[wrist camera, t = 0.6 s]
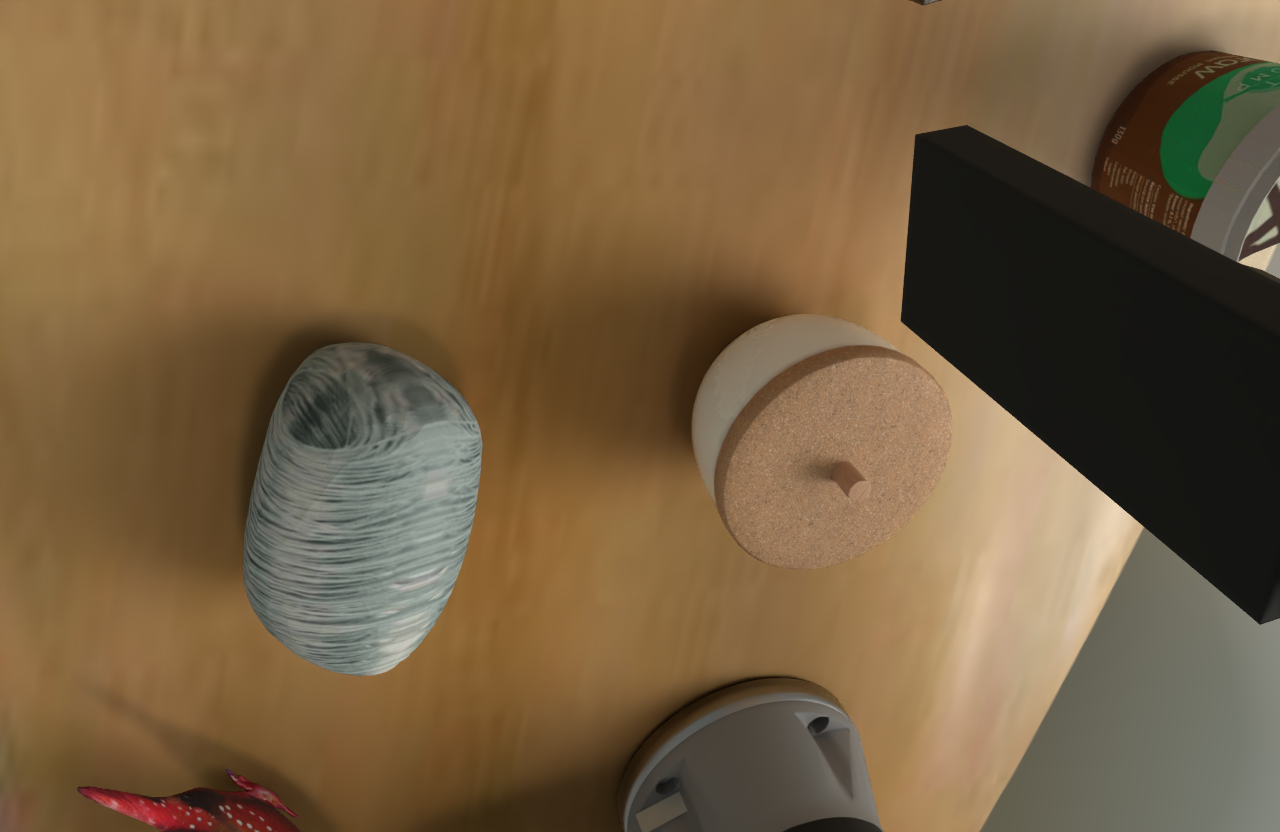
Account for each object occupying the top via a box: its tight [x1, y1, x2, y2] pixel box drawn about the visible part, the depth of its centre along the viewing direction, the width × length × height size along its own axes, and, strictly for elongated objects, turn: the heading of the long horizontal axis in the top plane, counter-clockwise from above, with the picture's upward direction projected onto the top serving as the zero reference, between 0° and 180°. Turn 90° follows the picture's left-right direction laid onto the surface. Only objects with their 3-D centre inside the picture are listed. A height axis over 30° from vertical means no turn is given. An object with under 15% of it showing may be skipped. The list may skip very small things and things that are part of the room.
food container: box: [1092, 51, 1280, 262], centre depth 46 cm, size 12×6×10 cm, turn 105°
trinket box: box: [692, 314, 952, 569], centre depth 47 cm, size 11×11×9 cm
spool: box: [243, 342, 483, 676], centre depth 43 cm, size 14×10×10 cm
